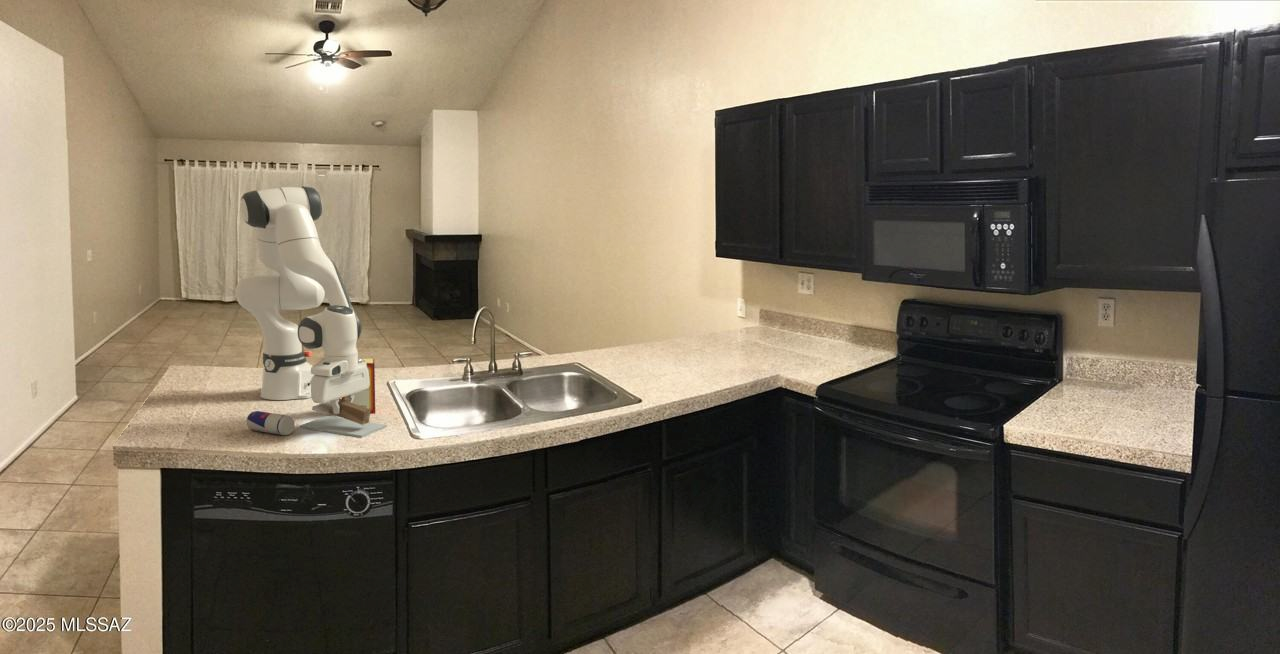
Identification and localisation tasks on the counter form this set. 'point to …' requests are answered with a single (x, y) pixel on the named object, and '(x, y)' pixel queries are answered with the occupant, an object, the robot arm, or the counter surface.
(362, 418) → the block
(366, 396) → the baking soda box
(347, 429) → the rest mat
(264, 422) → the energy drink
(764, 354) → the counter surface
